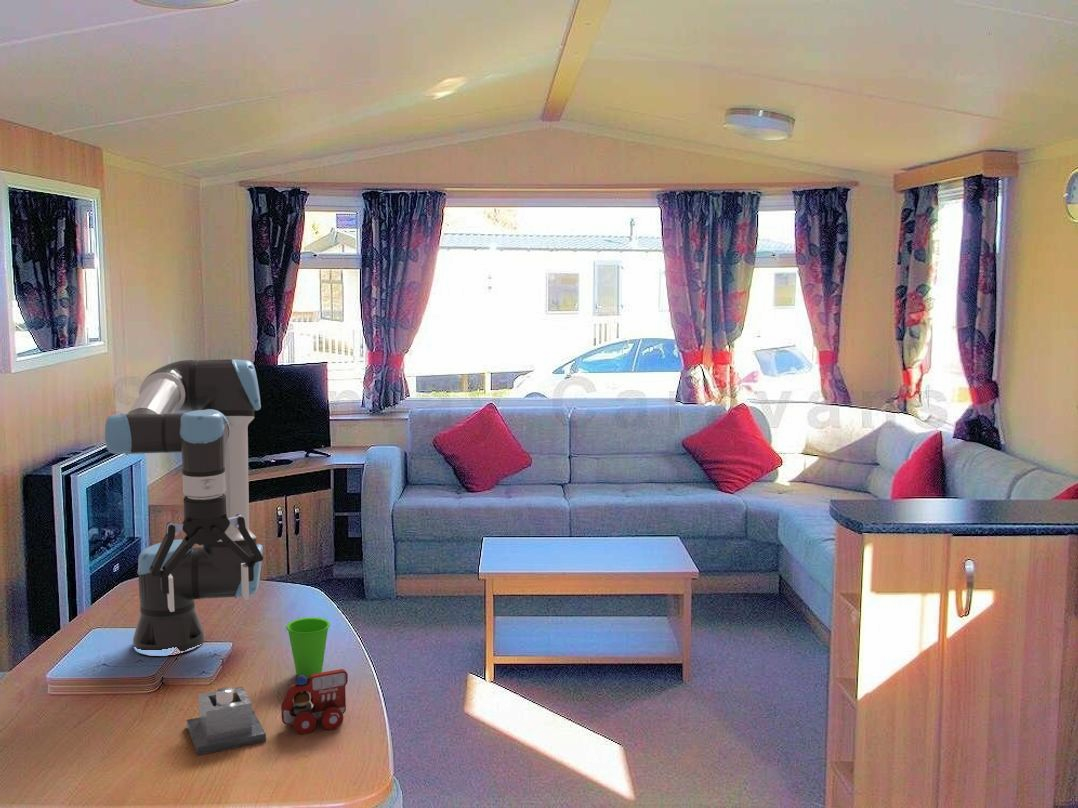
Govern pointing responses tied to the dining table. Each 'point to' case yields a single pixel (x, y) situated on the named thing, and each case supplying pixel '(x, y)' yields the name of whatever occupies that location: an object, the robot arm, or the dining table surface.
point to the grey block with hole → (225, 715)
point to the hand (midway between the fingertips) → (209, 603)
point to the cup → (308, 644)
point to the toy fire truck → (316, 701)
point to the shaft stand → (219, 744)
